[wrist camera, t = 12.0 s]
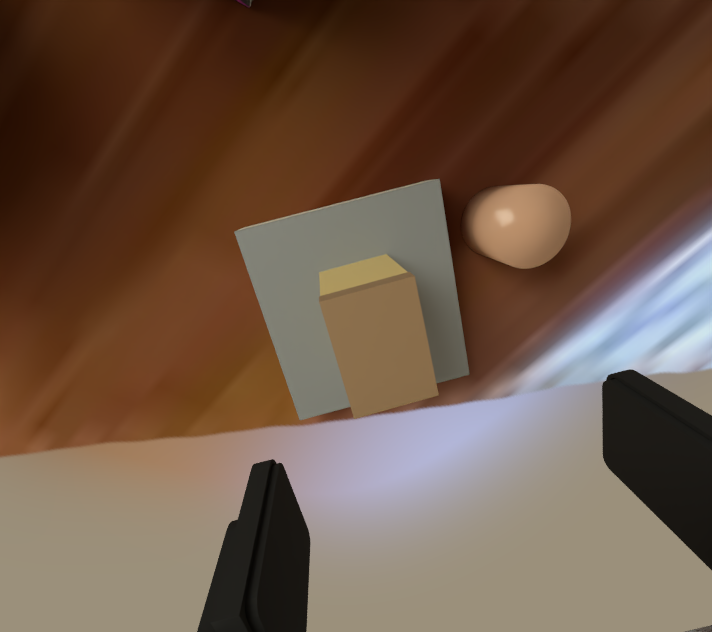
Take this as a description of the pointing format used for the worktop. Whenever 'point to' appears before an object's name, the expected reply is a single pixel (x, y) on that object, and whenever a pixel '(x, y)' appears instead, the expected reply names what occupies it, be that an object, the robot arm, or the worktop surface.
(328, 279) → the carton
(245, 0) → the candy bar box
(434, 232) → the podium
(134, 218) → the worktop surface
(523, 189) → the beige egg shape
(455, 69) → the worktop surface
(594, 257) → the worktop surface
